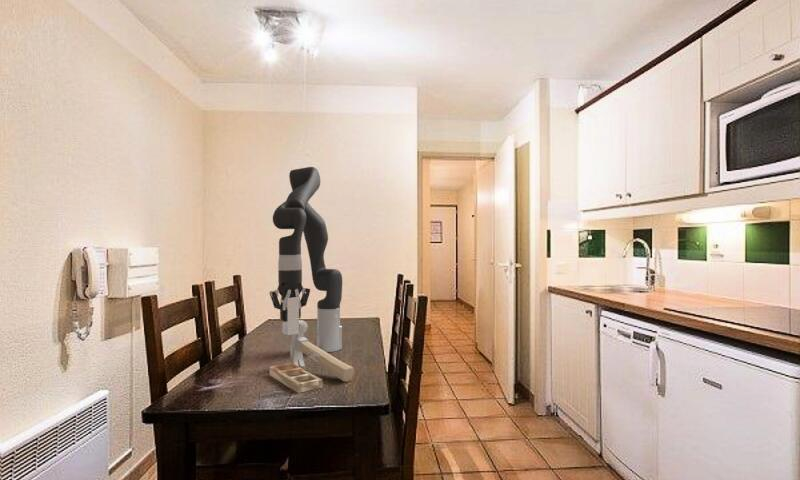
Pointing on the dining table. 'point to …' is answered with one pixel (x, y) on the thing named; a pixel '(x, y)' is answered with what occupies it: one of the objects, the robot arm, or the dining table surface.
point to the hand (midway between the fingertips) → (290, 320)
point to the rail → (296, 377)
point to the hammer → (317, 355)
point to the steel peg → (291, 317)
